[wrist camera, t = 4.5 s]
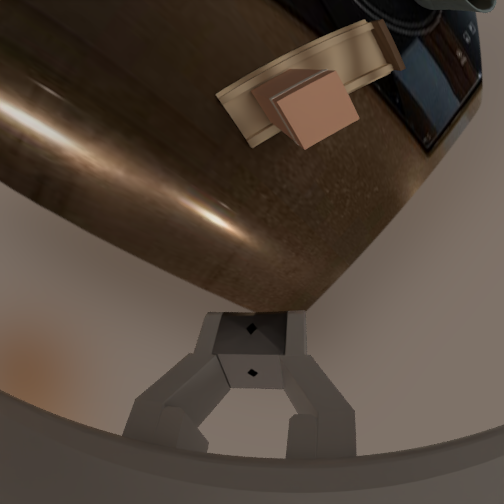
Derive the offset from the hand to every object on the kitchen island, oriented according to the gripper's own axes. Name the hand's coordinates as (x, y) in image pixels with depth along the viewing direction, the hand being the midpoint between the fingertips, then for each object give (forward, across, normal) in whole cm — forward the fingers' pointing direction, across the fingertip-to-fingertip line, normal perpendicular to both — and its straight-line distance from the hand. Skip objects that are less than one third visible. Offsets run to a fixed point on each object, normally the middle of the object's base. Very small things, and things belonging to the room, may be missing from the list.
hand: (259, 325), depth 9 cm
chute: (+38, -4, -4) cm, 38 cm away
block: (+35, 0, -3) cm, 35 cm away
